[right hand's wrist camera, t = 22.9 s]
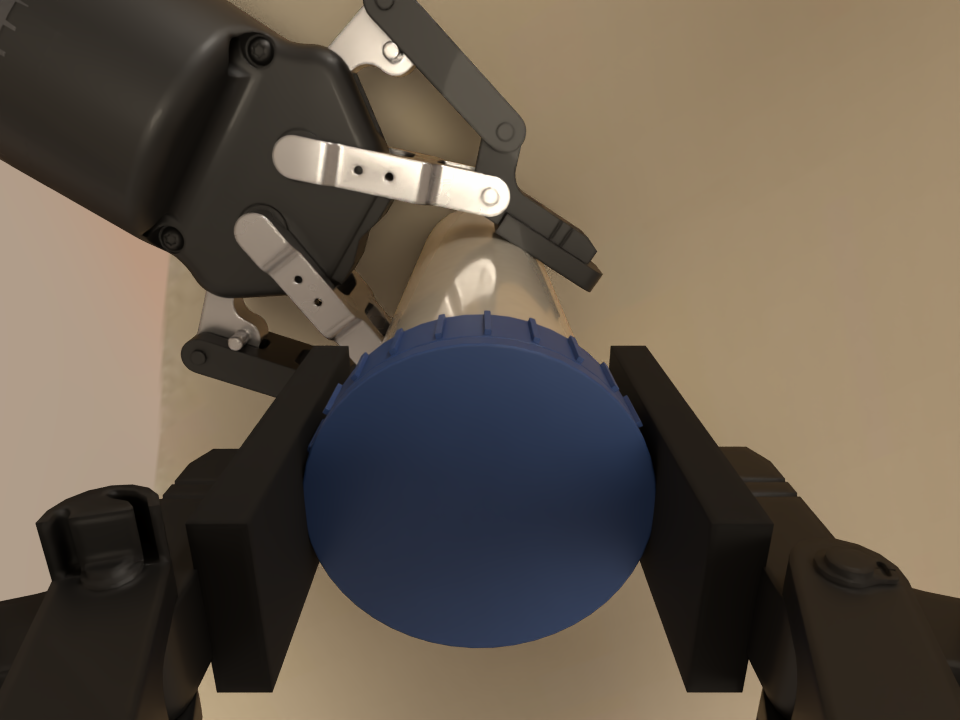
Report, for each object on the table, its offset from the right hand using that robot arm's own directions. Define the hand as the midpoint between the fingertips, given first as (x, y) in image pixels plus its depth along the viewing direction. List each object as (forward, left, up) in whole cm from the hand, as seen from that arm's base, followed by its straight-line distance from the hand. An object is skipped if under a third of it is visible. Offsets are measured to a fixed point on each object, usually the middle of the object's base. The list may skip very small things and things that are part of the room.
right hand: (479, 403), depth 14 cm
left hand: (+1, -3, -8) cm, 8 cm away
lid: (0, 0, +4) cm, 4 cm away
